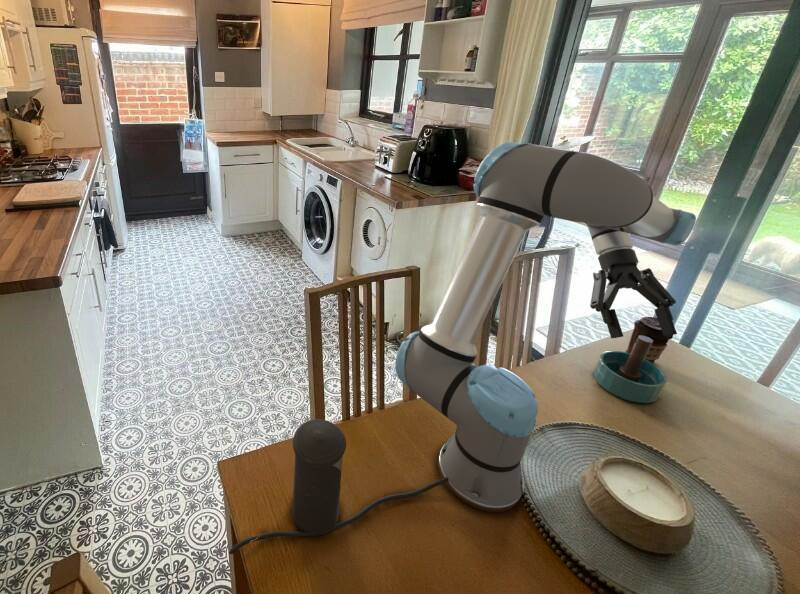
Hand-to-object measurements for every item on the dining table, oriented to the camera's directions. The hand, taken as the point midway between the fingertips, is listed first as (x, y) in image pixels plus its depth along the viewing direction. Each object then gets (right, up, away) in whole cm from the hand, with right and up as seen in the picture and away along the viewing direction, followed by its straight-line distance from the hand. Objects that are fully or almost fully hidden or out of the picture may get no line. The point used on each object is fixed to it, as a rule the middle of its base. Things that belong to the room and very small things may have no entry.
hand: (644, 336), depth 97 cm
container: (-80, -28, -22) cm, 87 cm away
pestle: (+2, -13, +8) cm, 16 cm away
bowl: (+2, -14, +8) cm, 16 cm away
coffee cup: (+13, -11, +16) cm, 23 cm away
